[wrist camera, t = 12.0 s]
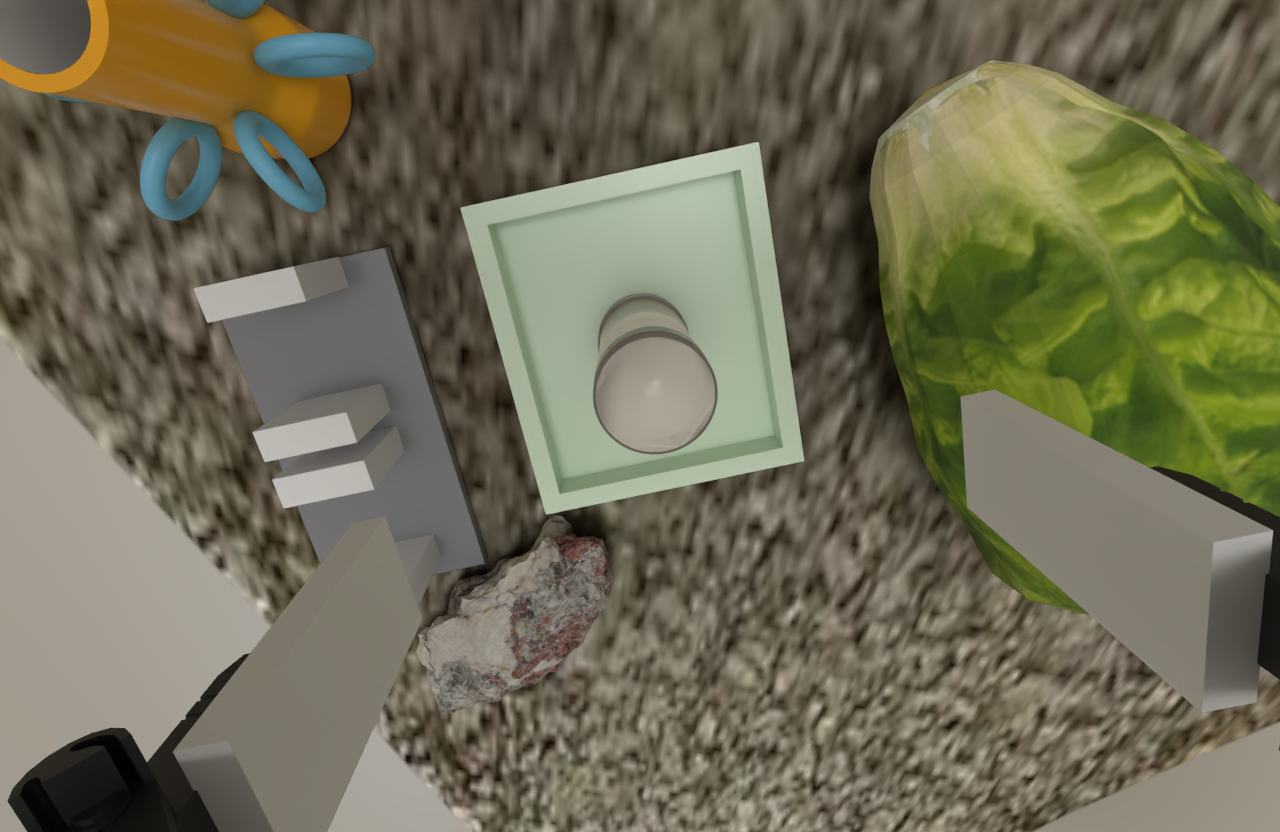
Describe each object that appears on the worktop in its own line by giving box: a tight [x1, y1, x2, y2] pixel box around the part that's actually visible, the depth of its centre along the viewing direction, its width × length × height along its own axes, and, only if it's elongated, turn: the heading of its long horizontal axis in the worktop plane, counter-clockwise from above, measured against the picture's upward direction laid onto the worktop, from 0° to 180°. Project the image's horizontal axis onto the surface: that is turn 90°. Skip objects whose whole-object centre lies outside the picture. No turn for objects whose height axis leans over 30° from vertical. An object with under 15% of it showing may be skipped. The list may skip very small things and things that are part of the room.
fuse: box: [593, 293, 718, 455], centre depth 30 cm, size 5×5×11 cm
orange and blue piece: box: [0, 0, 375, 220], centre depth 25 cm, size 12×10×15 cm
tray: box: [461, 142, 804, 515], centre depth 35 cm, size 16×14×2 cm
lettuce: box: [869, 60, 1280, 615], centre depth 29 cm, size 17×23×16 cm
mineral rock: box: [416, 515, 613, 714], centre depth 39 cm, size 15×8×4 cm, turn 124°
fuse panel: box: [193, 247, 487, 605], centre depth 34 cm, size 18×9×6 cm, turn 12°
